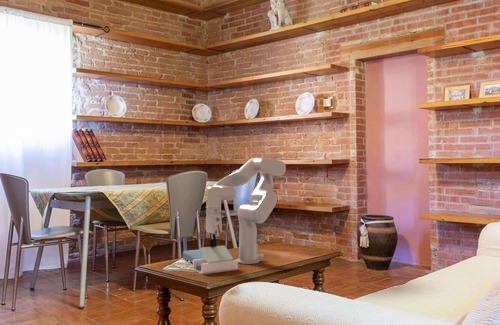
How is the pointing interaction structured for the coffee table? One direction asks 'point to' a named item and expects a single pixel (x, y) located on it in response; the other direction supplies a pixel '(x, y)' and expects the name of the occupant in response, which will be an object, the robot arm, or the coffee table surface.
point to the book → (193, 255)
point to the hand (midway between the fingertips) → (212, 246)
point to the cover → (216, 254)
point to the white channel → (214, 266)
